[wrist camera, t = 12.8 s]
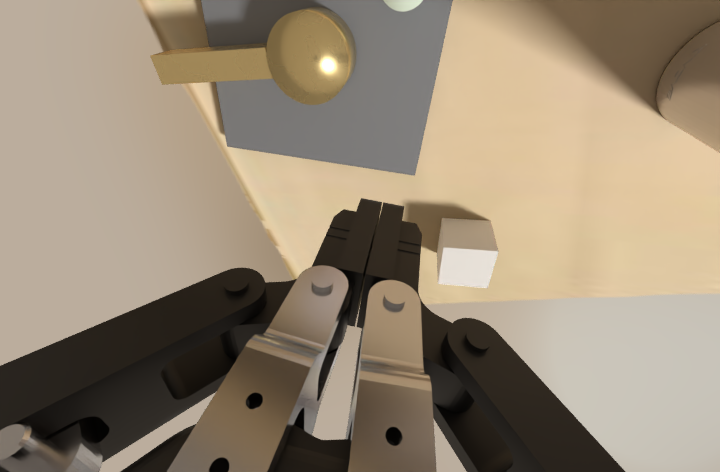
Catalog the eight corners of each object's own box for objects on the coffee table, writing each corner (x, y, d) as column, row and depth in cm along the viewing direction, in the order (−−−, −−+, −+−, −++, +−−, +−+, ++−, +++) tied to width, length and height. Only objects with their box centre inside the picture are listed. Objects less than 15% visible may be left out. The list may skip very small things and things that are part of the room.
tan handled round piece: (352, 3, 28) (343, 6, 24) (359, 91, 32) (352, 103, 29) (165, 20, 31) (135, 25, 28) (194, 98, 35) (171, 110, 32)
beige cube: (436, 252, 46) (437, 283, 41) (441, 217, 42) (443, 247, 37) (481, 255, 45) (487, 288, 40) (490, 220, 41) (498, 251, 36)
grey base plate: (472, -101, 24) (480, -114, 21) (415, 167, 38) (414, 187, 35) (191, -127, 26) (154, -143, 22) (235, 139, 40) (216, 155, 36)
